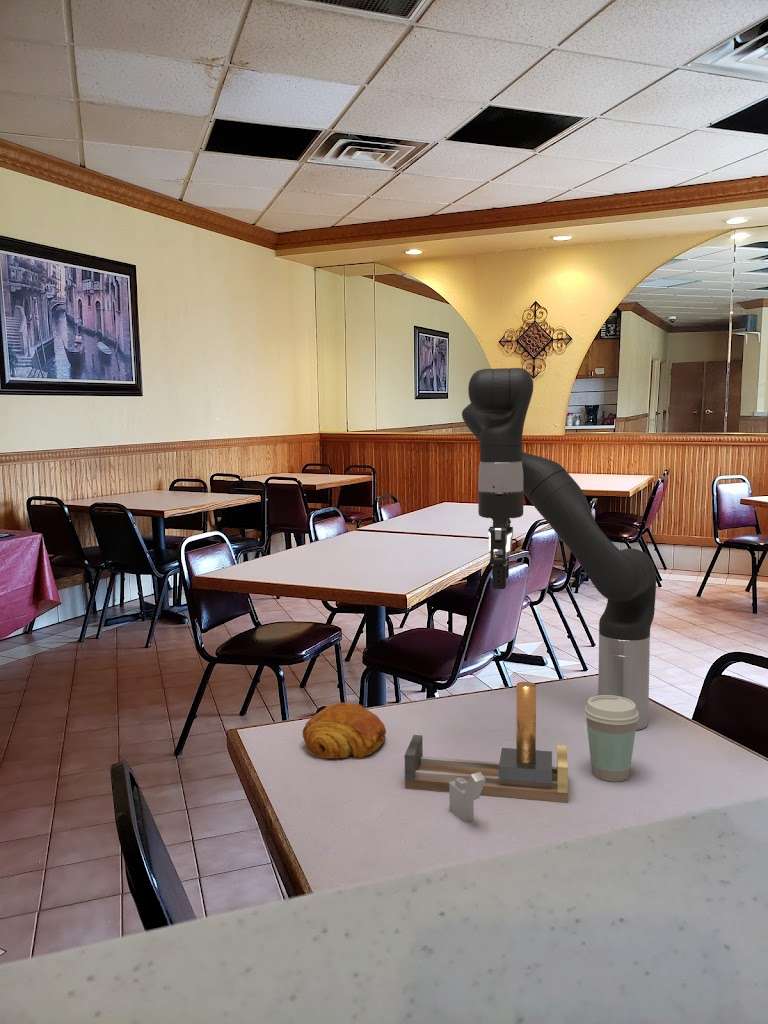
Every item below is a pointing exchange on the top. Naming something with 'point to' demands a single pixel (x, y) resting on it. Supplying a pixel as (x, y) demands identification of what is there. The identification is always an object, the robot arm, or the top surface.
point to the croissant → (344, 732)
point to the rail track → (443, 771)
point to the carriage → (525, 743)
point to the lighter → (465, 795)
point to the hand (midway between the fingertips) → (500, 583)
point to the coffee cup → (611, 735)
